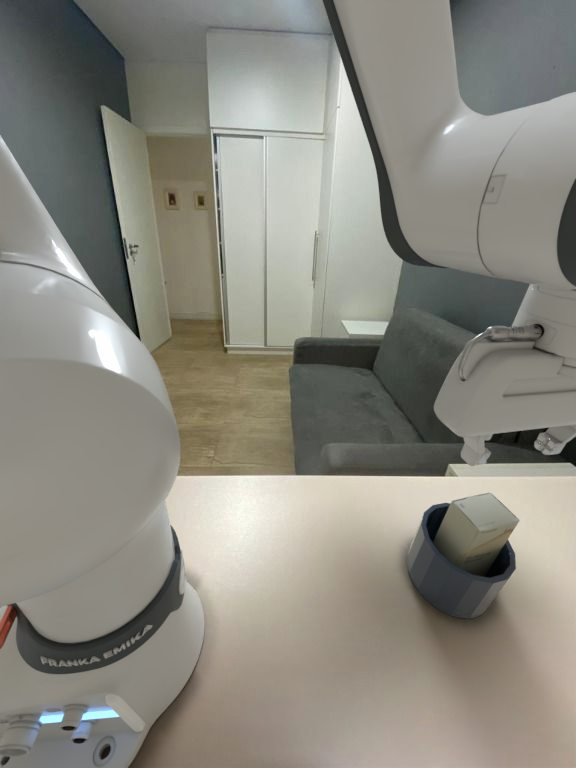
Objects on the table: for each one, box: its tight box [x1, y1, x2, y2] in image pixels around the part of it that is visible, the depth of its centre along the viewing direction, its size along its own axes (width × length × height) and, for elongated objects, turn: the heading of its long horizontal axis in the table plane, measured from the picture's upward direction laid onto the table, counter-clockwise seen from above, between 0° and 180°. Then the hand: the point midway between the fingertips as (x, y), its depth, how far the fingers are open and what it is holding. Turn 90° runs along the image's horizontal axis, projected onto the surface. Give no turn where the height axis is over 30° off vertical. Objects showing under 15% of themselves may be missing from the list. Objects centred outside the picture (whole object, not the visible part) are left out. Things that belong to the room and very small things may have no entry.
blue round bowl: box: [406, 502, 517, 619], centre depth 40 cm, size 10×10×8 cm
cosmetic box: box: [433, 492, 520, 577], centre depth 39 cm, size 6×4×12 cm
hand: (509, 455), depth 31 cm, fingers open, 8 cm apart
